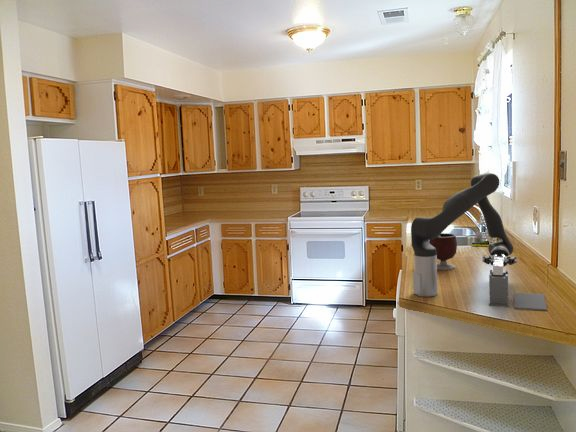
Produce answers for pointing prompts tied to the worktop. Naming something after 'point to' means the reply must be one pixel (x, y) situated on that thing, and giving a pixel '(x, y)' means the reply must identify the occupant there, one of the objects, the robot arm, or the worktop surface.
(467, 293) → the worktop surface
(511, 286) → the worktop surface
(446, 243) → the mate gourd
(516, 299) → the mat
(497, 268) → the rail
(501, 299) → the rack
